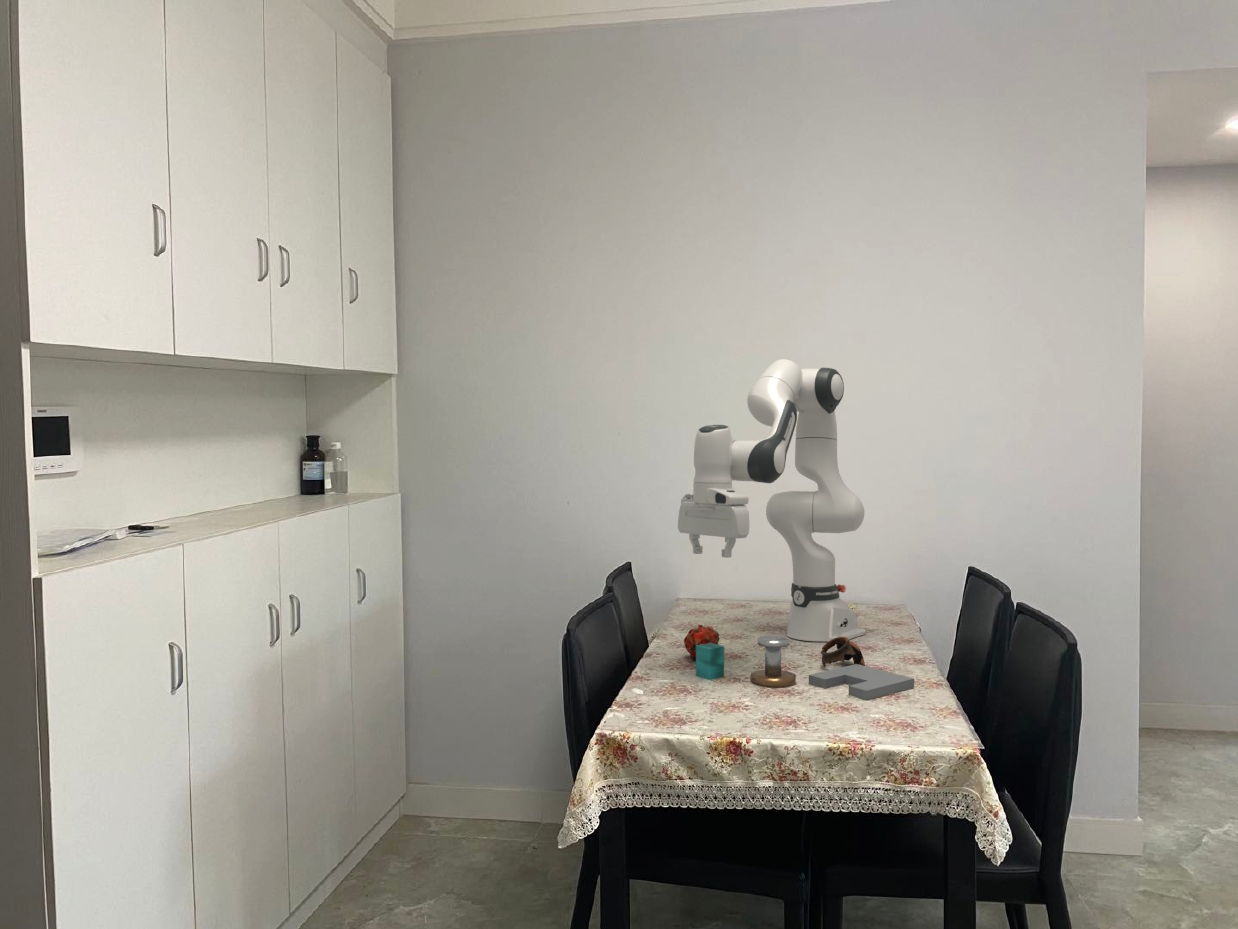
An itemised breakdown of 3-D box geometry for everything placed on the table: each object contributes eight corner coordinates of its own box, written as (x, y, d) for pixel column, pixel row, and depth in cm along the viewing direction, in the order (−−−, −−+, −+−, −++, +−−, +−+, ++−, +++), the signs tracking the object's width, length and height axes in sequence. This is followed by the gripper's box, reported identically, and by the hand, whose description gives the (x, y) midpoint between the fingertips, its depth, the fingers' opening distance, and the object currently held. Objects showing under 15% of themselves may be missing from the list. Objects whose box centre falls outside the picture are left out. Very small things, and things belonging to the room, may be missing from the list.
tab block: (710, 673, 231) (710, 642, 230) (724, 677, 227) (724, 646, 227) (695, 676, 228) (696, 645, 228) (709, 680, 224) (709, 649, 224)
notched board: (856, 672, 231) (856, 664, 230) (914, 687, 218) (914, 678, 218) (808, 683, 221) (808, 674, 221) (866, 700, 208) (866, 690, 208)
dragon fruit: (713, 658, 251) (697, 676, 240) (686, 637, 253) (669, 654, 242) (731, 634, 247) (716, 651, 237) (704, 612, 249) (687, 629, 239)
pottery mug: (869, 675, 230) (852, 646, 229) (831, 690, 233) (815, 661, 232) (867, 651, 241) (852, 622, 240) (832, 665, 244) (816, 637, 243)
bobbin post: (772, 673, 230) (772, 632, 229) (805, 682, 222) (805, 640, 221) (741, 680, 224) (741, 638, 223) (773, 690, 216) (773, 646, 215)
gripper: (671, 493, 236) (671, 552, 236) (734, 497, 220) (733, 560, 220) (691, 493, 240) (690, 551, 240) (754, 496, 224) (753, 558, 224)
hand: (711, 555), depth 230 cm, fingers open, 8 cm apart
